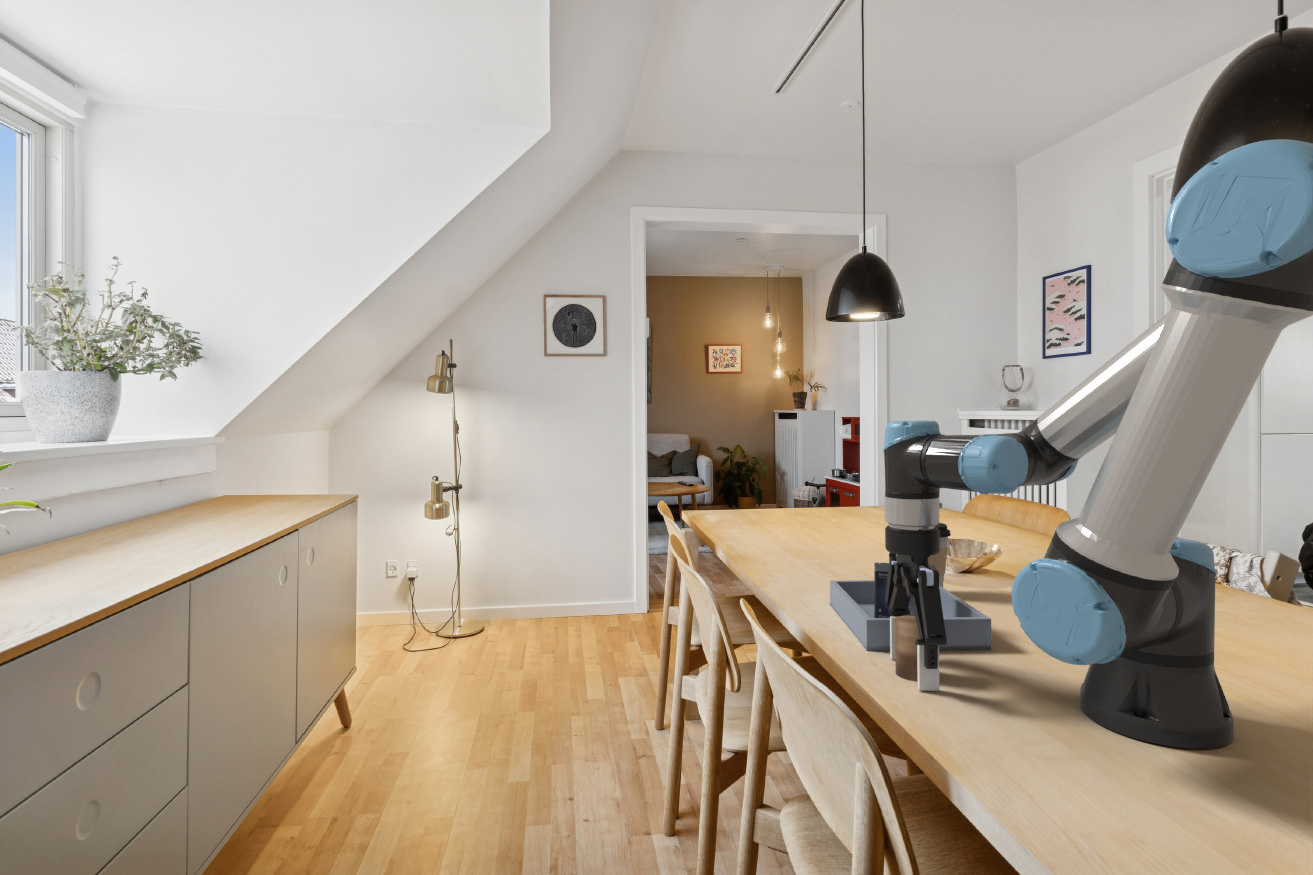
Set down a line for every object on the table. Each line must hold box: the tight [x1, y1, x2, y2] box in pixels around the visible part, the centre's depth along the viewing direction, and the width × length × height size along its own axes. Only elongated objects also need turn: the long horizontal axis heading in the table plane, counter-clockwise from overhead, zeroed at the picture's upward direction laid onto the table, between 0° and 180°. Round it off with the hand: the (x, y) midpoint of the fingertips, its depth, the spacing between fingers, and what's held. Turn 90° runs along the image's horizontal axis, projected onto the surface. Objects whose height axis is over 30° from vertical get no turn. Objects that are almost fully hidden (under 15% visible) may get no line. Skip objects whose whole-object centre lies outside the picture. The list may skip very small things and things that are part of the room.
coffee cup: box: [928, 522, 952, 588], centre depth 140 cm, size 9×9×15 cm
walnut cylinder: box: [894, 616, 920, 682], centre depth 97 cm, size 5×5×8 cm
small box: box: [873, 562, 936, 618], centre depth 118 cm, size 11×6×10 cm, turn 73°
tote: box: [829, 579, 992, 652], centre depth 120 cm, size 26×20×5 cm
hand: (913, 672), depth 98 cm, fingers open, 11 cm apart
